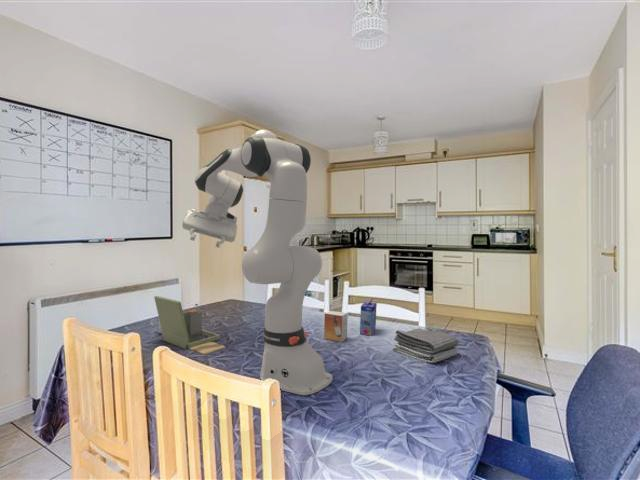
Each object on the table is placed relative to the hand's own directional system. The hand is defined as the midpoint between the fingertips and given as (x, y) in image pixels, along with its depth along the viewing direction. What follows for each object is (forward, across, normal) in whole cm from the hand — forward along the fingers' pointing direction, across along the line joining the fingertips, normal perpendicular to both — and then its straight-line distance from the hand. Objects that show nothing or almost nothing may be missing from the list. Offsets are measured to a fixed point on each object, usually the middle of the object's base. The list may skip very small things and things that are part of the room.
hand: (205, 243), depth 127 cm
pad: (+32, +12, +19) cm, 39 cm away
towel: (+29, +85, -12) cm, 90 cm away
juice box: (+14, +75, +12) cm, 77 cm away
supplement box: (+22, -4, +40) cm, 46 cm away
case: (+27, +4, +29) cm, 40 cm away
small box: (+21, +59, +10) cm, 64 cm away
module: (+26, +6, +29) cm, 40 cm away
